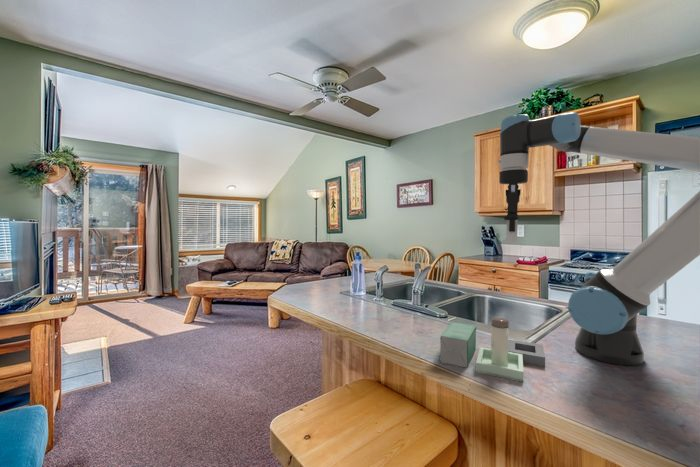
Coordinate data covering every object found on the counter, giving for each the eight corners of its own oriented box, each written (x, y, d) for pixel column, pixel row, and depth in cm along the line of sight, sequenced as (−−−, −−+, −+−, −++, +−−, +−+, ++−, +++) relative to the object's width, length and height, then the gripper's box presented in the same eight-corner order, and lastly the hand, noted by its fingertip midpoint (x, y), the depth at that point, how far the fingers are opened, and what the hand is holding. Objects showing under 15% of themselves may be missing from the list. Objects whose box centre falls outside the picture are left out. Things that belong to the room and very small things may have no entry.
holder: (542, 353, 91) (542, 344, 91) (544, 366, 83) (545, 357, 83) (507, 347, 95) (507, 339, 95) (506, 359, 87) (506, 350, 87)
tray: (522, 363, 85) (522, 354, 85) (523, 382, 76) (523, 371, 76) (480, 355, 90) (480, 347, 90) (476, 372, 81) (476, 362, 80)
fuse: (508, 363, 84) (508, 318, 83) (508, 370, 80) (508, 323, 79) (491, 360, 86) (491, 316, 85) (490, 367, 82) (490, 321, 81)
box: (476, 349, 94) (476, 324, 94) (468, 368, 83) (468, 340, 82) (451, 344, 98) (451, 320, 98) (439, 362, 86) (439, 335, 86)
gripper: (501, 175, 107) (499, 237, 108) (497, 165, 85) (496, 244, 86) (526, 173, 104) (524, 238, 105) (529, 163, 81) (527, 245, 83)
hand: (511, 241), depth 96 cm, fingers open, 13 cm apart
